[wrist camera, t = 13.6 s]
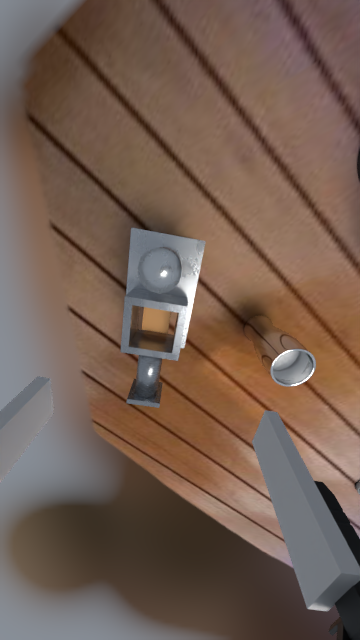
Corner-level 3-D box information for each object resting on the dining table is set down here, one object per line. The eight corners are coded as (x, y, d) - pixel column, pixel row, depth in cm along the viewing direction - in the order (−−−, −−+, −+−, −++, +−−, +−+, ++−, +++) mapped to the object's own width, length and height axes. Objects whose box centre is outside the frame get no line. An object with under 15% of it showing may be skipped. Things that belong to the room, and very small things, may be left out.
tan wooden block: (154, 287, 41) (144, 304, 30) (174, 290, 41) (171, 309, 30) (152, 306, 43) (141, 329, 31) (171, 309, 43) (167, 333, 32)
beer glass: (235, 333, 45) (259, 375, 31) (254, 307, 42) (290, 339, 28) (260, 347, 46) (295, 394, 32) (281, 322, 44) (328, 361, 30)
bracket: (133, 287, 30) (124, 296, 25) (187, 296, 30) (188, 306, 26) (125, 380, 36) (116, 401, 31) (170, 387, 36) (168, 408, 32)
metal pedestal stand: (145, 231, 37) (115, 223, 21) (199, 241, 38) (212, 241, 21) (137, 315, 43) (108, 361, 26) (183, 322, 44) (184, 373, 27)
